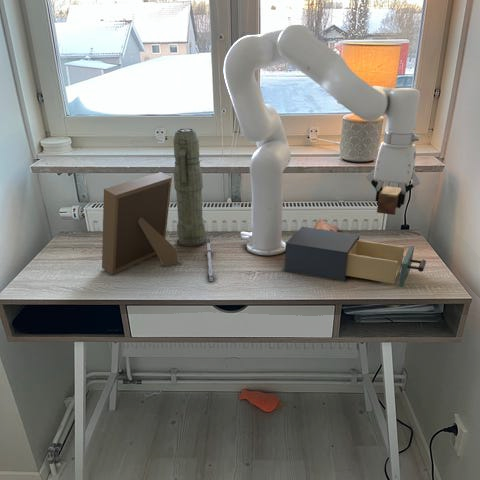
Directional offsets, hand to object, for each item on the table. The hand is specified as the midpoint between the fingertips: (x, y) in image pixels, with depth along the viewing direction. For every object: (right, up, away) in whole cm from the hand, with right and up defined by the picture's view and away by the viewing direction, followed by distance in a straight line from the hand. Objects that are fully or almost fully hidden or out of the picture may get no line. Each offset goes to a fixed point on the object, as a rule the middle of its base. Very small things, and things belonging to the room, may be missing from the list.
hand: (389, 204), depth 148 cm
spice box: (0, -1, +1) cm, 1 cm away
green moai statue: (-58, -7, +24) cm, 64 cm away
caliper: (-51, -17, +6) cm, 55 cm away
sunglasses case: (-14, -6, +25) cm, 29 cm away
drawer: (-2, -20, -1) cm, 20 cm away
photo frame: (-70, -16, +8) cm, 73 cm away
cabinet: (-19, -17, +6) cm, 26 cm away
